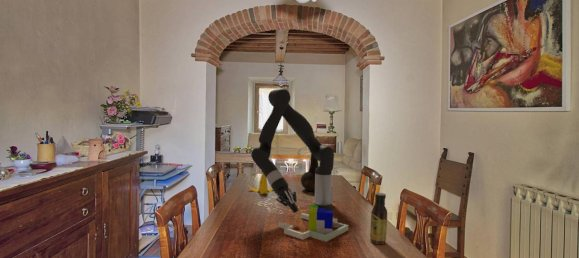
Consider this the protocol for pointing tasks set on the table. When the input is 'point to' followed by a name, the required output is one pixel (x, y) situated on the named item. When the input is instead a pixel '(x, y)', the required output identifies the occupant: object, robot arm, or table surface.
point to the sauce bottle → (379, 220)
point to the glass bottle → (310, 175)
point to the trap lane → (290, 231)
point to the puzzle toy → (321, 219)
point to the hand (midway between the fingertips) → (296, 211)
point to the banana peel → (262, 186)
